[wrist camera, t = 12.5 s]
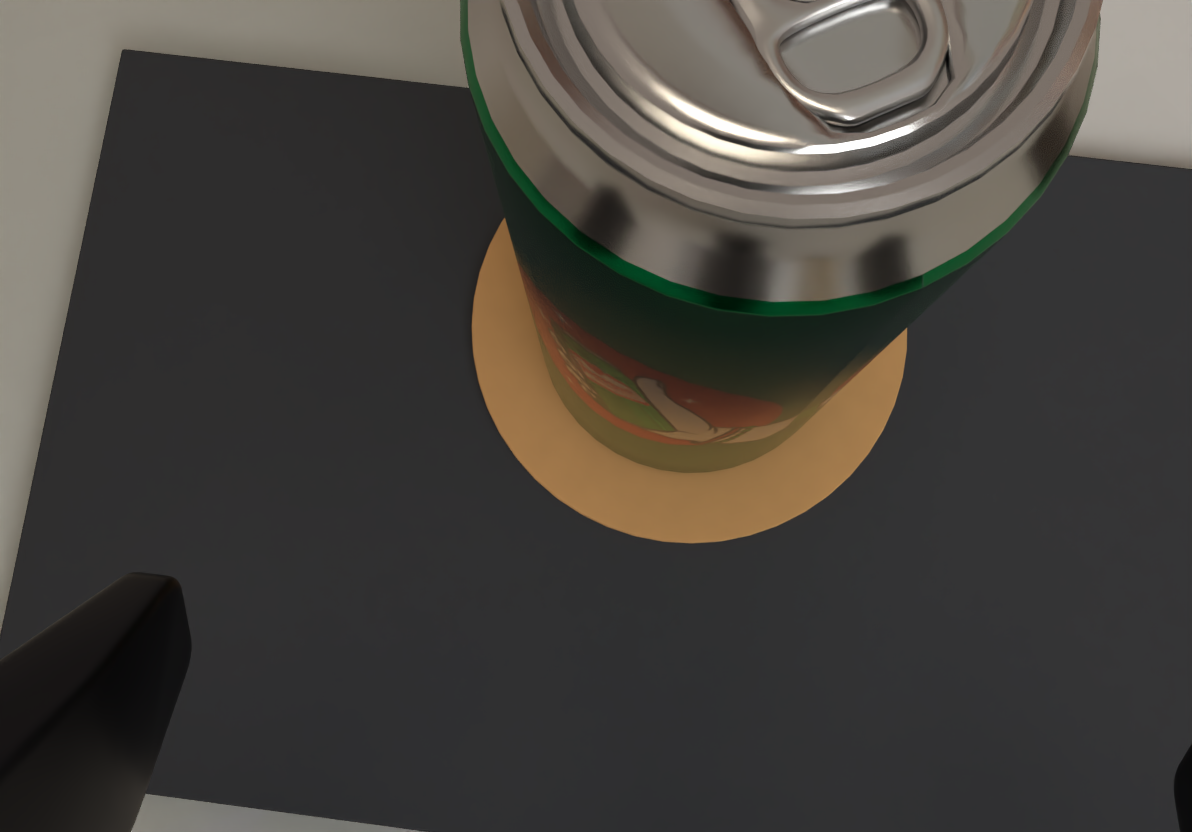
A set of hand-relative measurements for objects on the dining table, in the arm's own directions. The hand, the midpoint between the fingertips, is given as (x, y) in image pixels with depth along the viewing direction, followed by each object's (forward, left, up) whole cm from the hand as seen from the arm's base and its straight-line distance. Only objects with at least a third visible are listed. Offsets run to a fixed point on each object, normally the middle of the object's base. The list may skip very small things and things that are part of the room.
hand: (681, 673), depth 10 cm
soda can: (+3, -4, -9) cm, 11 cm away
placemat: (+2, -2, -10) cm, 10 cm away
